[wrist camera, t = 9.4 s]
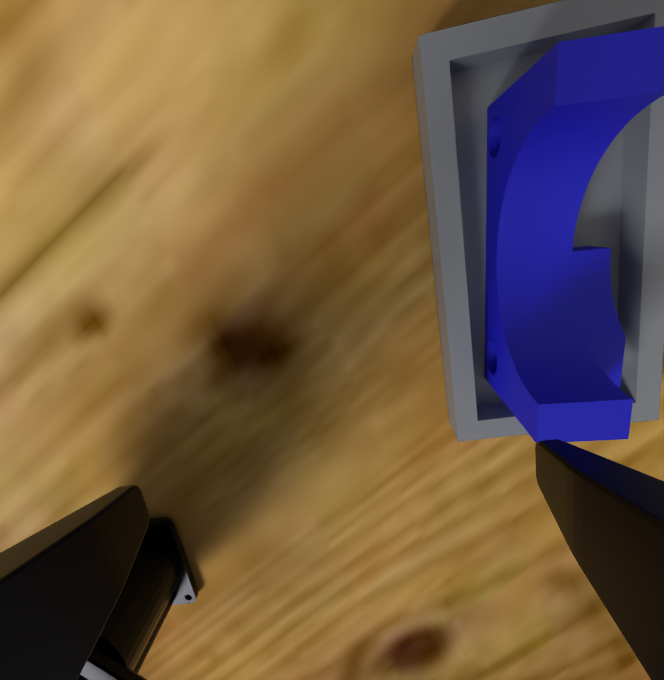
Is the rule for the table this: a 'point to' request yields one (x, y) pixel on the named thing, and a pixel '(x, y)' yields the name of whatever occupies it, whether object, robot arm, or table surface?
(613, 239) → the tray
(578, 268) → the blue curved cradle
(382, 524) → the table surface
